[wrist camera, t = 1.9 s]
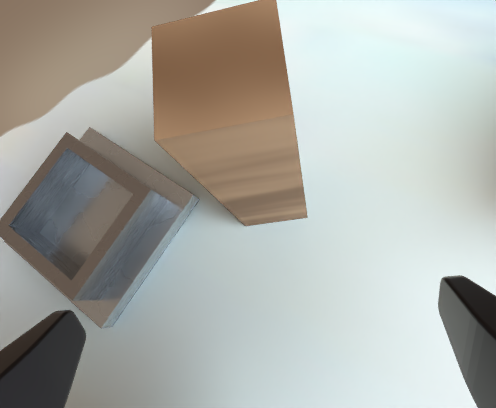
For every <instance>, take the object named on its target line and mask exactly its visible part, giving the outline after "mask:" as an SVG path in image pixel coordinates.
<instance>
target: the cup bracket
mask: <svg viewBox="0 0 496 408" xmlns="http://www.w3.org/2000/svg"><path fill="white" fill-rule="evenodd" d="M198 201H199V199H198V198H197V197H196V196H194V195H193V194H192V193H190V192H189V191H187V190H186V189H184V188H182V187H181V186H179V185H178V184H176V183H175V182H173V181H172V180H170V179H169V178H167V177H166V176H164V175H162V174H161V173H159V172H158V171H156V170H155V169H153V168H152V167H150V166H149V165H147V164H145V163H144V162H142V161H141V160H139V159H138V158H136V157H135V156H133V155H132V154H130V153H129V152H127V151H125V150H124V149H122V148H121V147H119V146H118V145H116V144H115V143H113V142H112V141H110V140H109V139H107V138H105V137H104V136H102V135H101V134H99V133H98V132H96V131H95V130H93V129H92V128H90V127H89V129H88V130H87V131H86V133H85V134H84V135H83V137H82V138H81V139H80V141H79V140H78V139H76V138H75V137H73V136H72V135H70V134H69V133H67V132H66V134H65V135H64V136H63V138H62V139H61V140H60V142H59V143H58V144H57V146H56V147H55V148H54V149H53V151H52V152H51V153H50V155H49V156H48V157H47V159H46V160H45V161H44V163H43V164H42V165H41V167H40V168H39V169H38V171H37V172H36V173H35V175H34V176H33V177H32V179H31V180H30V181H29V183H28V184H27V185H26V187H25V188H24V189H23V190H22V192H21V193H20V194H19V196H18V197H17V198H16V200H15V201H14V202H13V204H12V205H11V206H10V208H9V209H8V210H7V212H6V213H5V214H4V216H3V217H2V218H1V220H0V236H1V237H2V238H3V239H4V240H5V241H4V242H6V243H7V244H8V245H9V246H10V247H11V248H12V249H13V250H14V251H16V252H17V253H18V254H19V255H20V256H21V257H22V258H23V259H24V260H26V261H27V262H28V263H29V264H30V265H31V266H32V267H33V268H34V269H36V270H37V271H38V272H39V273H40V274H41V275H42V276H43V277H44V278H46V279H47V280H48V281H49V282H50V283H51V284H52V285H53V286H54V287H56V288H57V289H58V290H59V291H60V292H61V293H62V294H63V295H64V296H66V297H67V298H68V299H69V300H70V301H71V302H72V303H73V304H74V305H76V306H77V307H78V308H79V309H80V310H81V311H82V312H83V313H85V314H86V315H87V316H88V317H89V318H90V319H91V320H92V321H93V322H95V323H96V324H97V325H98V326H99V327H100V328H106V327H112V326H113V325H114V323H115V322H116V320H117V319H118V317H119V316H120V314H121V313H122V311H123V310H124V309H125V307H126V306H127V304H128V303H129V301H130V300H131V298H132V297H133V295H134V294H135V293H136V291H137V290H138V288H139V287H140V285H141V284H142V282H143V281H144V279H145V278H146V277H147V275H148V274H149V272H150V271H151V269H152V268H153V266H154V265H155V263H156V262H157V261H158V259H159V258H160V256H161V255H162V253H163V252H164V250H165V249H166V247H167V246H168V245H169V243H170V242H171V240H172V239H173V237H174V236H175V234H176V233H177V231H178V230H179V229H180V227H181V226H182V224H183V223H184V221H185V220H186V218H187V217H188V215H189V214H190V213H191V211H192V210H193V208H194V207H195V205H196V204H197V202H198Z"/></svg>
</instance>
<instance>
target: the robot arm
mask: <svg viewBox="0 0 496 408" xmlns="http://www.w3.org/2000/svg"><path fill="white" fill-rule="evenodd" d="M438 308H439V313H440V316H441V319H442V321H443V324H444V327H445V329H446V332H447V335H448V337H449V340H450V343H451V346H452V348H453V351H454V354H455V356H456V359H457V362H458V364H459V367H460V370H461V372H462V375H463V377H464V380H465V382H466V384H467V387H468V389H469V391H470V393H471V395H472V397H473V399H474V401H475V403H476V405H477V407H478V408H496V296H495V295H493V294H492V293H490V292H489V291H487V290H485V289H484V288H482V287H481V286H479V285H477V284H476V283H474V282H473V281H471V280H470V279H468V278H466V277H464V276H460V275H459V276H448V277H443V278H442V279H441V282H440V291H439V300H438ZM85 340H86V333H85V330H84V328H83V326H82V325H81V323H80V322H79V320H78V318H77V317H76V315H75V314H74V312H72V311H71V310H64V311H56V312H53V313H52V314H51V315H49V316H48V317H46V318H45V319H44V320H42V321H41V322H40V323H38V324H37V325H35V326H34V327H33V328H31V329H30V330H29V331H27V332H26V333H24V334H23V335H22V336H20V337H19V338H18V339H16V340H15V341H13V342H12V343H11V344H9V345H8V346H7V347H5V348H4V349H2V350H1V351H0V408H64V406H65V404H66V401H67V398H68V395H69V392H70V389H71V386H72V383H73V379H74V376H75V373H76V370H77V366H78V363H79V360H80V357H81V353H82V350H83V347H84V344H85Z"/></svg>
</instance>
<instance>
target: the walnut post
mask: <svg viewBox="0 0 496 408" xmlns="http://www.w3.org/2000/svg"><path fill="white" fill-rule="evenodd" d="M152 65H153V105H154V140H155V141H156V142H157V143H158V144H159V145H160V146H161V147H162V148H163V149H164V150H165V151H166V152H167V153H168V154H169V155H170V156H172V157H173V158H174V159H175V160H176V161H177V162H178V163H179V164H180V165H181V166H182V167H183V168H184V169H185V170H186V171H187V172H189V173H190V174H191V175H192V176H193V177H194V178H195V179H196V180H197V181H198V182H199V183H200V184H201V185H202V186H203V187H204V188H206V189H207V190H208V191H209V192H210V193H211V194H212V195H213V196H214V197H215V198H216V199H217V200H218V201H219V202H220V203H222V204H223V205H224V206H225V207H226V208H227V209H228V210H229V211H230V212H231V213H232V214H233V215H234V216H235V217H236V218H237V219H239V220H240V221H241V222H242V223H243V224H244V225H245V226H250V225H257V224H265V223H272V222H279V221H286V220H294V219H301V218H308V217H307V210H306V203H305V195H304V188H303V181H302V173H301V166H300V159H299V151H298V144H297V137H296V129H295V122H294V115H293V108H292V102H291V95H290V88H289V82H288V75H287V69H286V62H285V55H284V49H283V42H282V36H281V29H280V22H279V16H278V9H277V3H276V0H258V1H254V2H250V3H246V4H242V5H238V6H234V7H230V8H226V9H222V10H218V11H214V12H209V13H205V14H201V15H197V16H193V17H189V18H185V19H181V20H177V21H174V22H169V23H165V24H161V25H157V26H153V27H152Z"/></svg>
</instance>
